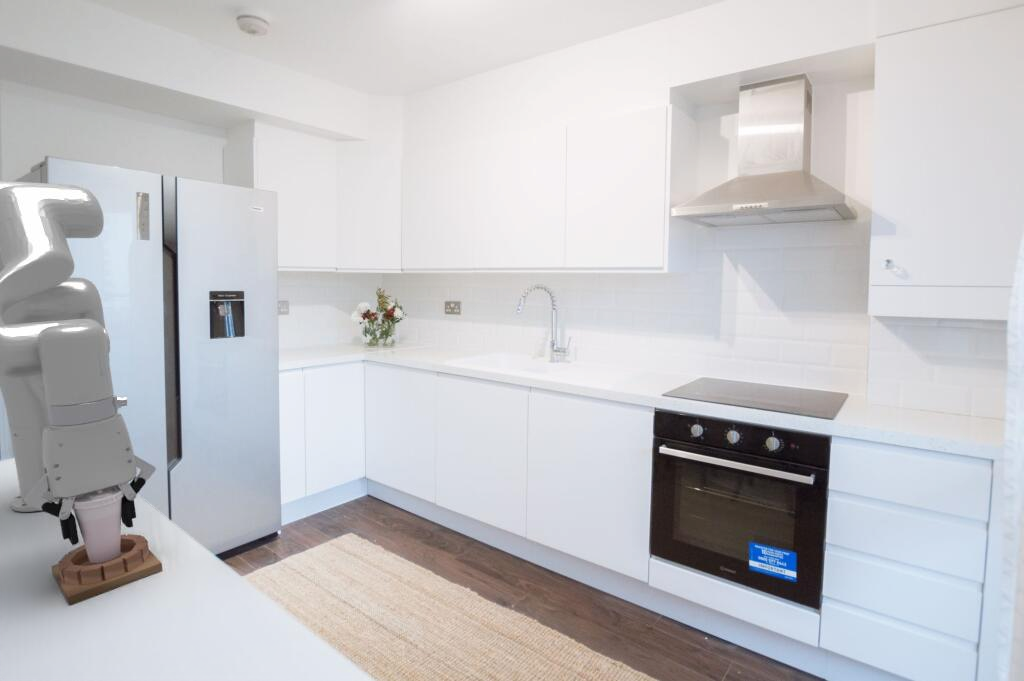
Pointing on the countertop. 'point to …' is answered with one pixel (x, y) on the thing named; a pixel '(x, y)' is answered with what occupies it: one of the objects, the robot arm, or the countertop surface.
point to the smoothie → (100, 523)
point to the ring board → (104, 569)
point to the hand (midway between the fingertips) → (101, 531)
